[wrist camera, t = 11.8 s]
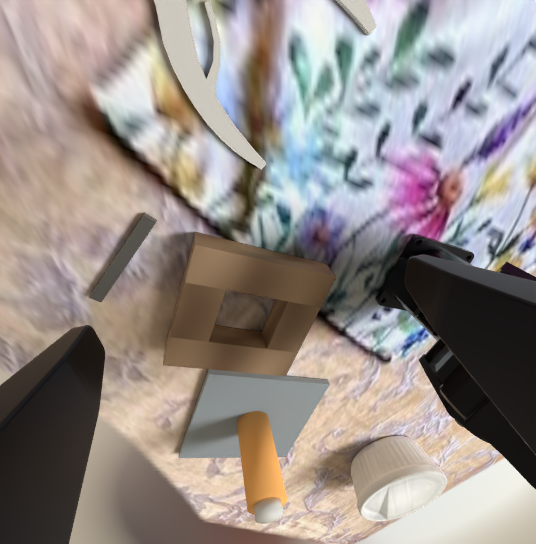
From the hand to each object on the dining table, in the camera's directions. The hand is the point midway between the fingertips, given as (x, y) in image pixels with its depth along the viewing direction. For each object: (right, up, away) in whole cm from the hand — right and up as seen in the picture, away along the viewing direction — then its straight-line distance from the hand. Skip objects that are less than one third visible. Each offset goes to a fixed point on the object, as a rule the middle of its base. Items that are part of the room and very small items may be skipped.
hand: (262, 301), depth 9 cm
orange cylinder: (-1, -14, +22) cm, 26 cm away
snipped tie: (-9, +2, +11) cm, 15 cm away
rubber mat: (-1, -14, +22) cm, 26 cm away
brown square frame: (-2, -2, +15) cm, 15 cm away
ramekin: (+15, -24, +32) cm, 43 cm away
